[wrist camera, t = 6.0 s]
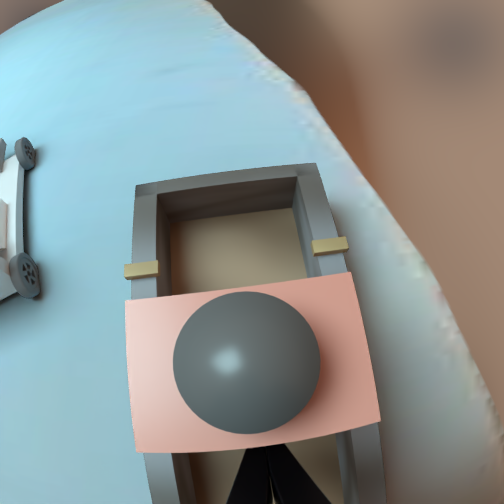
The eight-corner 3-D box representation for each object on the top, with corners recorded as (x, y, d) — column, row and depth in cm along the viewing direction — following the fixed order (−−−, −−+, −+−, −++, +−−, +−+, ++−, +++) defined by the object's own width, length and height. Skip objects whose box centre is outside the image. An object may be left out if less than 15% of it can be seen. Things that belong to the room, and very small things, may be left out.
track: (373, 493, 12) (406, 517, 8) (170, 520, 12) (146, 552, 8) (317, 202, 20) (329, 156, 16) (144, 224, 20) (121, 183, 16)
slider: (319, 408, 14) (400, 424, 5) (195, 425, 14) (117, 460, 5) (306, 330, 15) (364, 252, 7) (186, 346, 15) (106, 285, 7)
